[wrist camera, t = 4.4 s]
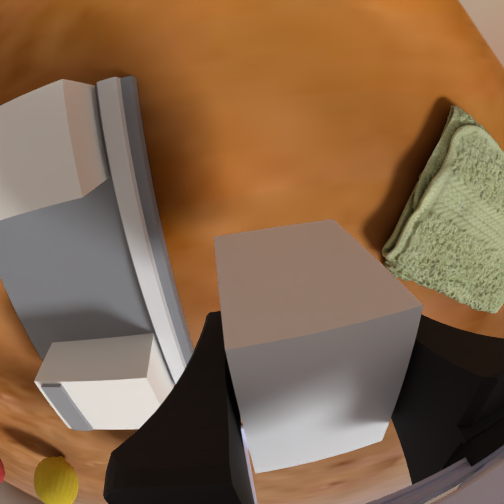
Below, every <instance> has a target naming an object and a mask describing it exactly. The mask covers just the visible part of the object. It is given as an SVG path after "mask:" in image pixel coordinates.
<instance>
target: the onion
mask: <svg viewBox="0 0 504 504" xmlns="http://www.w3.org/2000/svg"><path fill="white" fill-rule="evenodd" d="M4 476H5V470H4V466H3V463H2V461H1V459H0V483H1V482H2V481H3V479H4Z"/></svg>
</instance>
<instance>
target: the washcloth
mask: <svg viewBox="0 0 504 504" xmlns="http://www.w3.org/2000/svg"><path fill="white" fill-rule="evenodd" d="M382 255H383V257H385V258H386V261H384V262H385V264H384V265H385V267H386V268H387V269H389V270H390V272H392V273H393V274H394V276H395V277H400V278H402V279H403V280H404V281H406V280H413V281H415V282H416V283H417V284H418V285H423V286H424V287H427V288H429V289H430V288H431V289H435V290H436V291H438V292H439V293H440V292H442V293H443V294H445V295H446V297H447V296H449V297H451V298H454V299H455V300H457V301H458V302H459V303H463V304H466V305H470V307H471V308H473V309H476V310H478V311H480V310H481V311H487V312H488V313H489V312H490V313H497V312H498V310H499V309H500V308H501V306H502V304H503V303H504V152H503V151H502V150H501V149H500V147H499V144H498V143H497V142H496V140H494V139H493V138H492V137H491V135H490V134H489V133H488V132H487V130H486V129H484V128H483V126H482V125H479V124H478V123H477V122H476V121H475V120H474V118H473V117H471V115H470V114H467V113H466V112H465V111H463V110H462V109H461V108H459V107H457V106H451V109H450V113H449V116H447V123H446V125H445V127H444V130H443V133H442V135H441V139H440V141H439V142H438V144H437V146H436V147H435V149H434V151H433V153H432V155H431V156H430V158H429V160H428V162H427V165H426V166H425V168H424V170H423V172H422V173H421V174H420V175H419V181H418V182H417V184H416V186H415V188H414V190H413V192H412V194H411V196H410V198H409V200H408V202H407V204H406V206H405V208H404V210H403V212H402V215H401V217H400V219H399V221H398V224H397V225H396V227H395V230H394V232H393V233H392V235H391V237H390V238H389V240H388V241H387V243H386V244H385V245H384V247H383V248H382Z"/></svg>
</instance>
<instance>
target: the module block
mask: <svg viewBox="0 0 504 504" xmlns="http://www.w3.org/2000/svg"><path fill="white" fill-rule="evenodd" d="M214 243H215V255H216V266H217V277H218V288H219V298H220V308H221V317H222V327H223V336H224V345H225V352H226V356H227V361H228V365H229V369H230V374H231V378H232V382H233V387H234V391H235V395H236V399H237V403H238V407H239V411H240V415H241V419H242V423H243V427H244V431H245V435H246V439H247V443H248V447H249V451H250V454H251V458H252V462H253V466H254V469H255V473H260V472H266V471H272V470H277V469H282V468H287V467H292V466H296V465H301V464H305V463H309V462H313V461H317V460H321V459H325V458H329V457H332V456H336V455H339V454H343V453H346V452H349V451H352V450H356V449H359V448H362V447H365V446H368V445H371V444H373V443H376V442H379V441H382V439H383V437H384V434H385V431H386V429H387V426H388V424H389V421H390V418H391V416H392V413H393V410H394V408H395V405H396V402H397V399H398V396H399V393H400V390H401V387H402V384H403V381H404V378H405V374H406V371H407V368H408V364H409V361H410V357H411V354H412V350H413V346H414V343H415V339H416V335H417V331H418V327H419V322H420V318H421V314H422V309H423V304H422V303H421V302H420V301H419V300H418V299H417V298H416V297H415V296H414V295H413V294H412V293H411V292H410V291H409V290H408V289H407V288H406V287H405V286H404V285H403V284H402V283H401V282H400V281H399V280H398V279H397V278H396V277H395V276H394V275H393V274H392V273H391V272H390V271H389V270H387V269H386V268H385V267H384V266H383V265H382V264H381V263H380V262H379V261H378V260H377V259H376V258H375V257H374V256H373V255H372V254H371V253H370V252H369V251H367V250H366V249H365V248H364V247H363V246H362V245H361V244H360V243H359V242H358V241H357V240H356V239H354V238H353V237H352V236H351V235H350V234H349V233H348V232H347V231H346V230H345V229H343V228H342V227H341V226H340V225H339V224H338V223H337V222H336V221H335V220H333V219H329V220H322V221H315V222H308V223H301V224H294V225H288V226H281V227H274V228H267V229H261V230H254V231H248V232H241V233H235V234H229V235H222V236H216V237H214Z"/></svg>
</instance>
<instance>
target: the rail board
mask: <svg viewBox="0 0 504 504" xmlns="http://www.w3.org/2000/svg"><path fill="white" fill-rule="evenodd" d="M0 277H1V280H2V282H3V285H4V287H5V289H6V292H7V294H8V296H9V298H10V300H11V303H12V305H13V307H14V309H15V311H16V313H17V315H18V317H19V319H20V321H21V323H22V325H23V327H24V329H25V331H26V333H27V334H28V336H29V338H30V340H31V342H32V344H33V345H34V347H35V349H36V351H37V352H38V354H39V356H40V357H41V359H42V361H43V363H42V365H41V367H40V369H39V371H38V373H37V375H36V378H35V380H34V382H35V384H36V385H37V387H38V388H39V390H40V391H41V392H42V394H43V395H44V397H45V398H46V399H47V401H48V402H49V403H50V405H51V406H52V407H53V409H54V410H55V411H56V413H57V414H58V415H59V417H60V418H61V419H62V420H63V422H64V423H65V424H66V425H67V426H68V428H72V429H73V430H80V431H92V429H108V430H121V429H139V428H140V427H141V426H142V425H143V424H144V423H145V422H146V421H147V420H148V419H149V418H150V417H151V416H152V415H153V414H154V412H155V411H156V410H157V409H158V408H159V406H160V405H161V404H162V403H163V401H164V400H165V399H166V397H167V396H168V395H169V393H170V392H171V390H172V389H173V387H174V384H176V383H177V381H178V380H179V378H180V377H181V375H182V373H183V371H184V370H185V368H186V366H187V364H188V362H189V360H190V358H191V356H192V354H193V352H194V349H193V346H192V342H191V339H190V336H189V332H188V329H187V325H186V322H185V318H184V314H183V311H182V307H181V303H180V300H179V296H178V292H177V288H176V284H175V281H174V277H173V273H172V269H171V264H170V260H169V256H168V252H167V248H166V243H165V239H164V235H163V230H162V226H161V221H160V216H159V212H158V207H157V202H156V197H155V192H154V187H153V182H152V176H151V171H150V165H149V160H148V154H147V148H146V142H145V136H144V130H143V123H142V116H141V109H140V102H139V95H138V87H137V79H136V77H134V76H132V75H131V76H127V77H123V78H118V77H112V78H109V79H105V80H101V81H98V82H97V85H91V84H86V83H81V82H76V81H71V80H66V79H61V80H58V81H55V82H53V83H50V84H48V85H45V86H43V87H40V88H38V89H35V90H33V91H31V92H28V93H26V94H24V95H22V96H19V97H17V98H15V99H13V100H11V101H9V102H7V103H5V104H3V105H1V106H0Z"/></svg>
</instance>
